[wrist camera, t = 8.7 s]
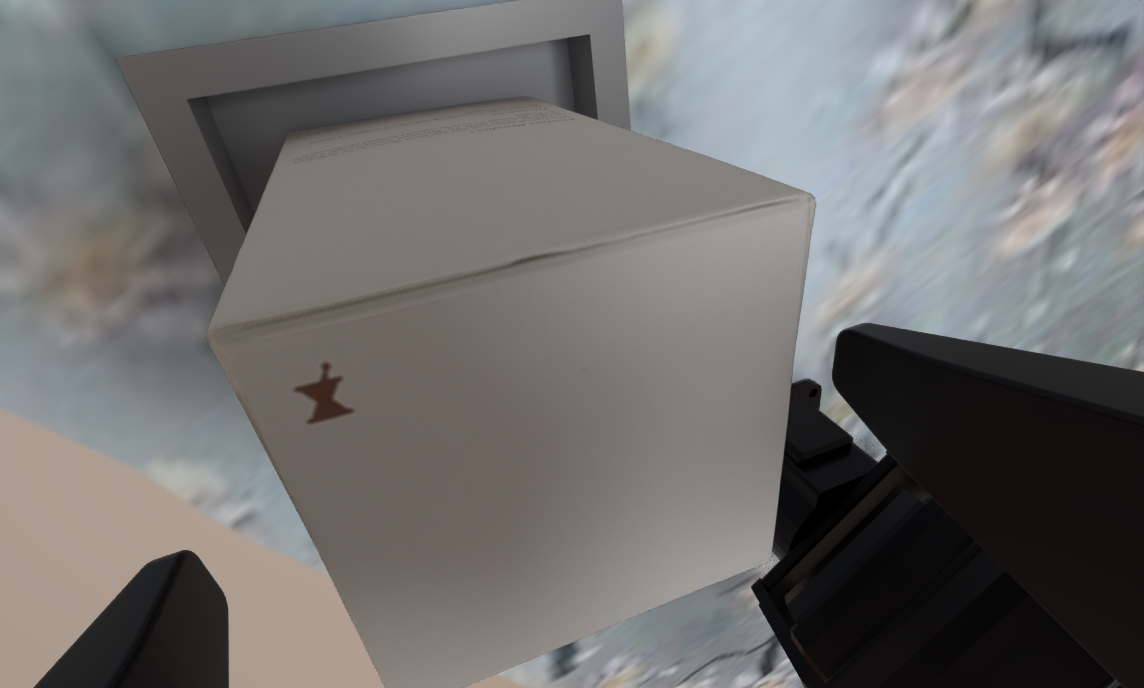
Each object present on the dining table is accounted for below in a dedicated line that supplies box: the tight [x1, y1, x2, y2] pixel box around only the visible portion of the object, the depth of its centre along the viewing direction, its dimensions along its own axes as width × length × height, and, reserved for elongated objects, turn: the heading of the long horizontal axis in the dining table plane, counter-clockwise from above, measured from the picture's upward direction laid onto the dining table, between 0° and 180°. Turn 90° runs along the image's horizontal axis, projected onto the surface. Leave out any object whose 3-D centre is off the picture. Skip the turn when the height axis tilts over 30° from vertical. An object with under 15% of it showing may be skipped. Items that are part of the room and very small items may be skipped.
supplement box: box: [206, 96, 816, 688], centre depth 13 cm, size 7×7×13 cm
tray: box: [115, 0, 631, 286], centre depth 18 cm, size 12×12×2 cm
